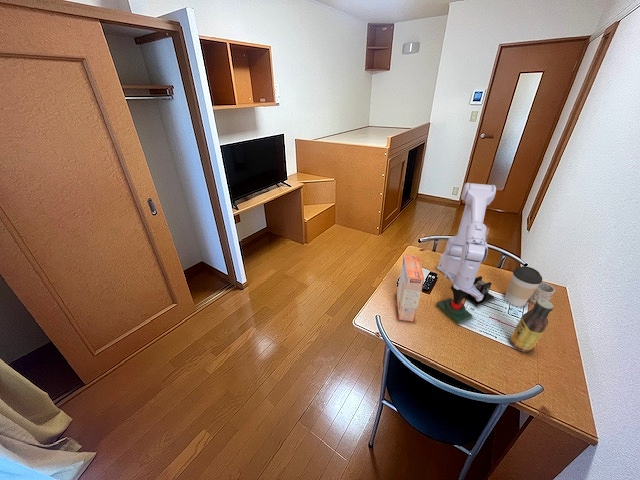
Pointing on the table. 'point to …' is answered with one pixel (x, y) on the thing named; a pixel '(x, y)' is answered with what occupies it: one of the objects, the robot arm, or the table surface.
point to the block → (454, 311)
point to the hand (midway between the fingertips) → (456, 302)
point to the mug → (542, 292)
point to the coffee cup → (522, 285)
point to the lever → (479, 284)
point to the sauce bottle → (531, 326)
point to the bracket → (483, 291)
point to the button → (455, 305)
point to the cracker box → (409, 287)
